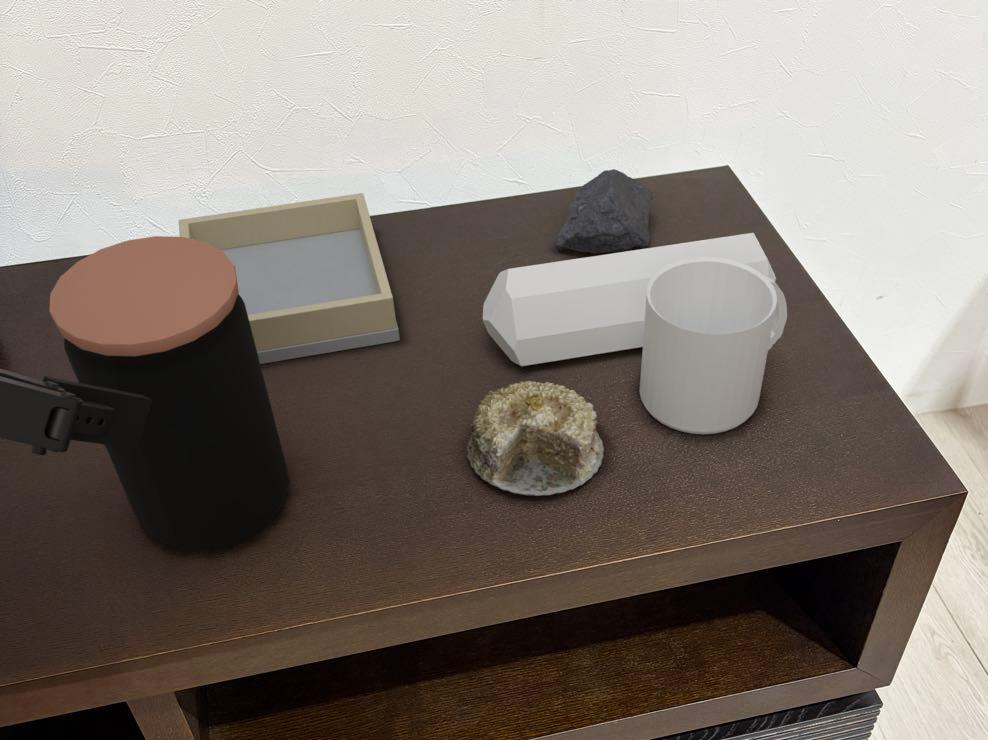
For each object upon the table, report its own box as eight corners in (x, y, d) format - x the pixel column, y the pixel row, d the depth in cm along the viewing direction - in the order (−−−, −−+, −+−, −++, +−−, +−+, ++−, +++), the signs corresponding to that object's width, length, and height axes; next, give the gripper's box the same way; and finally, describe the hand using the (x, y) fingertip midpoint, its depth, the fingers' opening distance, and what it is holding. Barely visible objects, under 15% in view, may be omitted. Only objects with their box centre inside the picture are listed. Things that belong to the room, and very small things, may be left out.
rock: (575, 282, 95) (680, 241, 96) (566, 226, 91) (675, 185, 92) (537, 228, 101) (636, 191, 102) (526, 174, 97) (630, 136, 98)
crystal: (496, 352, 81) (800, 304, 85) (477, 264, 82) (777, 220, 86) (490, 387, 88) (770, 341, 92) (473, 305, 90) (750, 263, 93)
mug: (672, 449, 80) (683, 347, 73) (619, 375, 85) (625, 274, 78) (814, 406, 83) (838, 304, 76) (754, 337, 88) (771, 237, 81)
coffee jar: (313, 459, 79) (264, 245, 66) (259, 570, 73) (191, 355, 59) (176, 440, 81) (101, 226, 68) (110, 546, 74) (11, 332, 61)
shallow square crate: (198, 374, 86) (185, 331, 83) (189, 261, 96) (177, 219, 93) (400, 340, 89) (394, 297, 85) (370, 233, 99) (364, 191, 96)
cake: (455, 425, 83) (450, 365, 79) (583, 404, 84) (584, 345, 80) (481, 510, 76) (477, 449, 72) (621, 486, 77) (623, 425, 73)
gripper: (-603, 290, 45) (-121, 371, 65) (-225, 513, 36) (199, 528, 56) (-562, 111, 44) (-85, 249, 64) (-163, 296, 35) (245, 389, 55)
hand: (48, 379), depth 60 cm, fingers open, 13 cm apart
